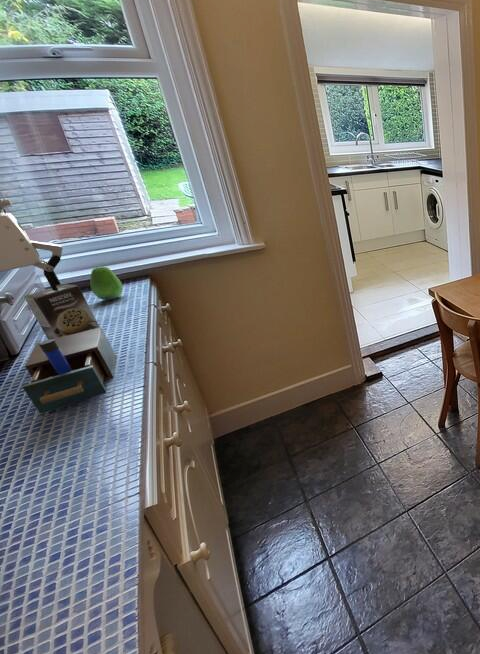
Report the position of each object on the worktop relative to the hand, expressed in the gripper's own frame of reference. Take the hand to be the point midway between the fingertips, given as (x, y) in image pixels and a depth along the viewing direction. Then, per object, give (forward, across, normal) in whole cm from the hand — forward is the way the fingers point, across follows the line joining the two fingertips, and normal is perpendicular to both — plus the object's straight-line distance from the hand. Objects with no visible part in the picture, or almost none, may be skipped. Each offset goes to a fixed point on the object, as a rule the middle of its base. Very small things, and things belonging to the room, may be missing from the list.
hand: (22, 297), depth 81 cm
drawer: (+24, +1, 0) cm, 24 cm away
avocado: (+25, -12, -73) cm, 78 cm away
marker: (+22, 0, -1) cm, 23 cm away
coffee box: (+25, -2, -36) cm, 44 cm away
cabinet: (+24, -1, -12) cm, 27 cm away
